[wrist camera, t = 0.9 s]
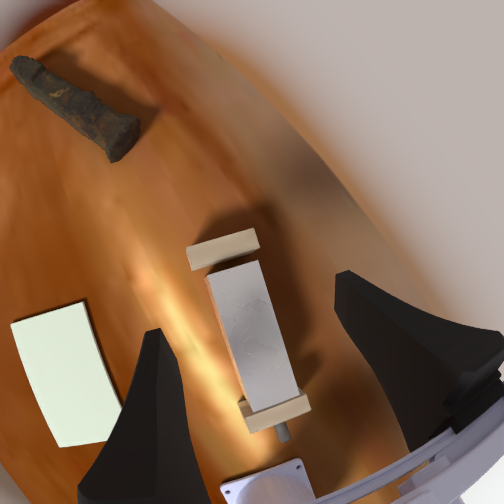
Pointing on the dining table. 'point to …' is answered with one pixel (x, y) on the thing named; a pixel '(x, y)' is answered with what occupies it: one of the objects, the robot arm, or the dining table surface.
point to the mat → (68, 375)
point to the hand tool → (79, 108)
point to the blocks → (255, 421)
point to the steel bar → (252, 335)
